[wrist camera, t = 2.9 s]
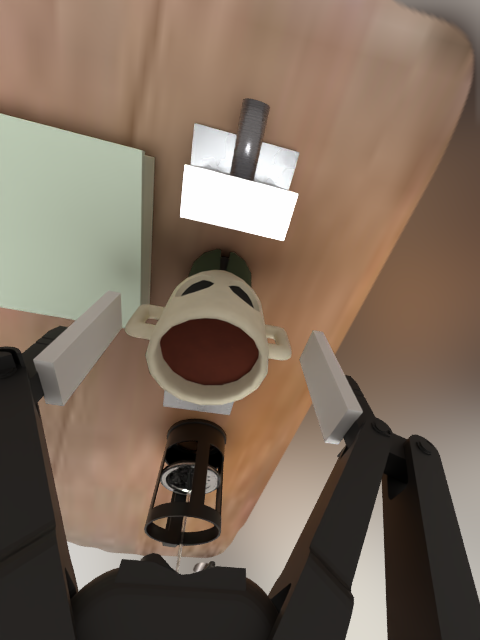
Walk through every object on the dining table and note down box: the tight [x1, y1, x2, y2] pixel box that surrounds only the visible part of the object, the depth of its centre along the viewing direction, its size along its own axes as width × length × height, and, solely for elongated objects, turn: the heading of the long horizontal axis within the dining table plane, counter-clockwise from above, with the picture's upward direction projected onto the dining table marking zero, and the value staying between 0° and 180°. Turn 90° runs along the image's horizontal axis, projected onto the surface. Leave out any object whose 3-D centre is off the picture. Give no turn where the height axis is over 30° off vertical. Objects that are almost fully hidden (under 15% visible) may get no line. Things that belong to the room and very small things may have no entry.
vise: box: [163, 98, 299, 415], centre depth 21 cm, size 8×25×9 cm, turn 167°
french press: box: [141, 419, 226, 575], centre depth 29 cm, size 12×9×23 cm
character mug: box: [125, 249, 292, 405], centre depth 19 cm, size 11×7×13 cm, turn 78°
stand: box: [0, 113, 155, 328], centre depth 20 cm, size 15×15×4 cm
